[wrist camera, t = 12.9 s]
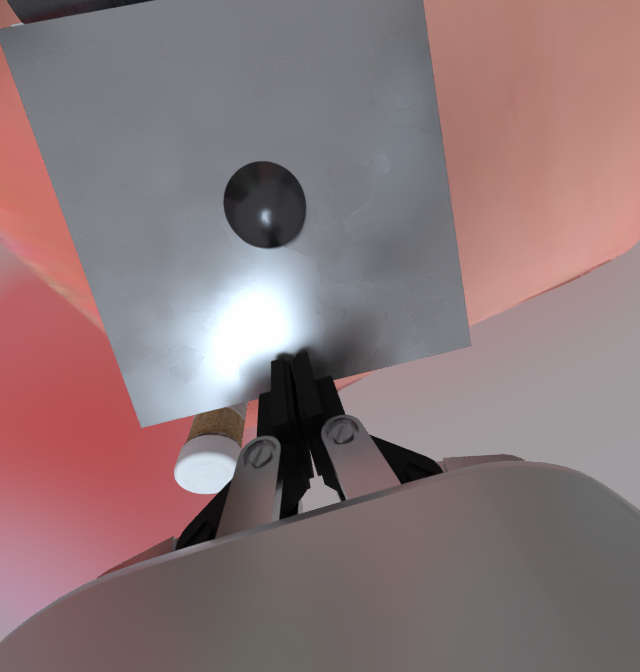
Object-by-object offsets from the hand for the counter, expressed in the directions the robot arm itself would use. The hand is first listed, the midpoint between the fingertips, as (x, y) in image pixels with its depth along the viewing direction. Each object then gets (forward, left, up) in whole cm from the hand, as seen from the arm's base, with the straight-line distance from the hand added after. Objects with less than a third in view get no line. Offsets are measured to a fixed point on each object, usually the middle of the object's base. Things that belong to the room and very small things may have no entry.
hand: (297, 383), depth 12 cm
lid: (-1, -7, -4) cm, 8 cm away
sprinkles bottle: (+8, +9, -17) cm, 21 cm away
